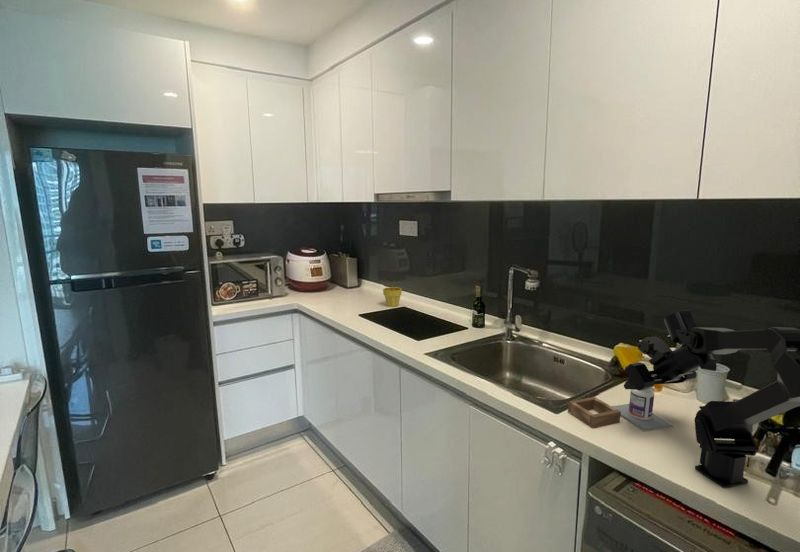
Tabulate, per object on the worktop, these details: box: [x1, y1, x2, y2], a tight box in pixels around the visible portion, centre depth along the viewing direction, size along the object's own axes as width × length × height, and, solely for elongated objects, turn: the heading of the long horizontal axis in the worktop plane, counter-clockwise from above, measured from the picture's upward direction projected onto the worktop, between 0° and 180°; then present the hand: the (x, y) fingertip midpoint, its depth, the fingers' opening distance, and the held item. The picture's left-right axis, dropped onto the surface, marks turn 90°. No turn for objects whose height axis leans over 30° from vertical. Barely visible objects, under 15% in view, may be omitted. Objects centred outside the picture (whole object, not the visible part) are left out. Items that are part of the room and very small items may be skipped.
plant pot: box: [382, 286, 402, 308], centre depth 228 cm, size 10×10×10 cm
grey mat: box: [611, 403, 674, 432], centre depth 108 cm, size 12×9×1 cm
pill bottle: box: [628, 387, 655, 420], centre depth 107 cm, size 5×5×10 cm
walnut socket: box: [567, 396, 621, 429], centre depth 108 cm, size 9×9×3 cm
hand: (637, 384), depth 108 cm, fingers open, 9 cm apart
